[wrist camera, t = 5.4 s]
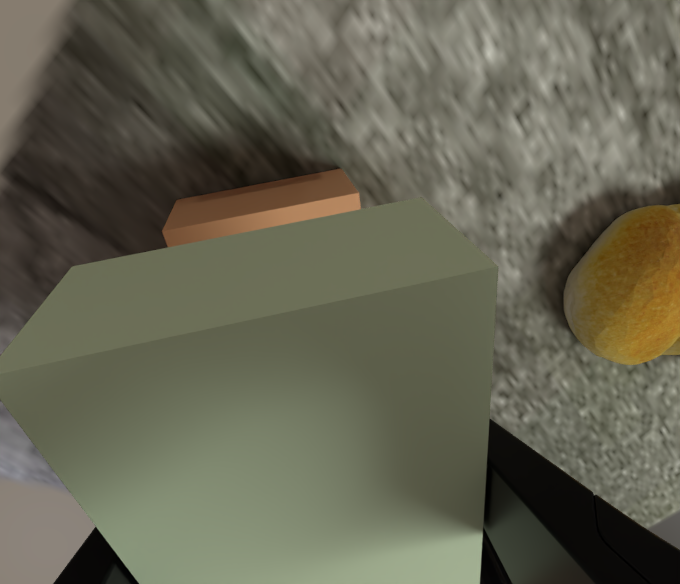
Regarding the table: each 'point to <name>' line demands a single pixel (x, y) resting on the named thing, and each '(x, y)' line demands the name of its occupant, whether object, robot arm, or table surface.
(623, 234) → the bread roll
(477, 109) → the table surface
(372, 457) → the lid
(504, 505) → the robot arm
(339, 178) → the dish
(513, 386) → the table surface
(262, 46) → the table surface
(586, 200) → the table surface
